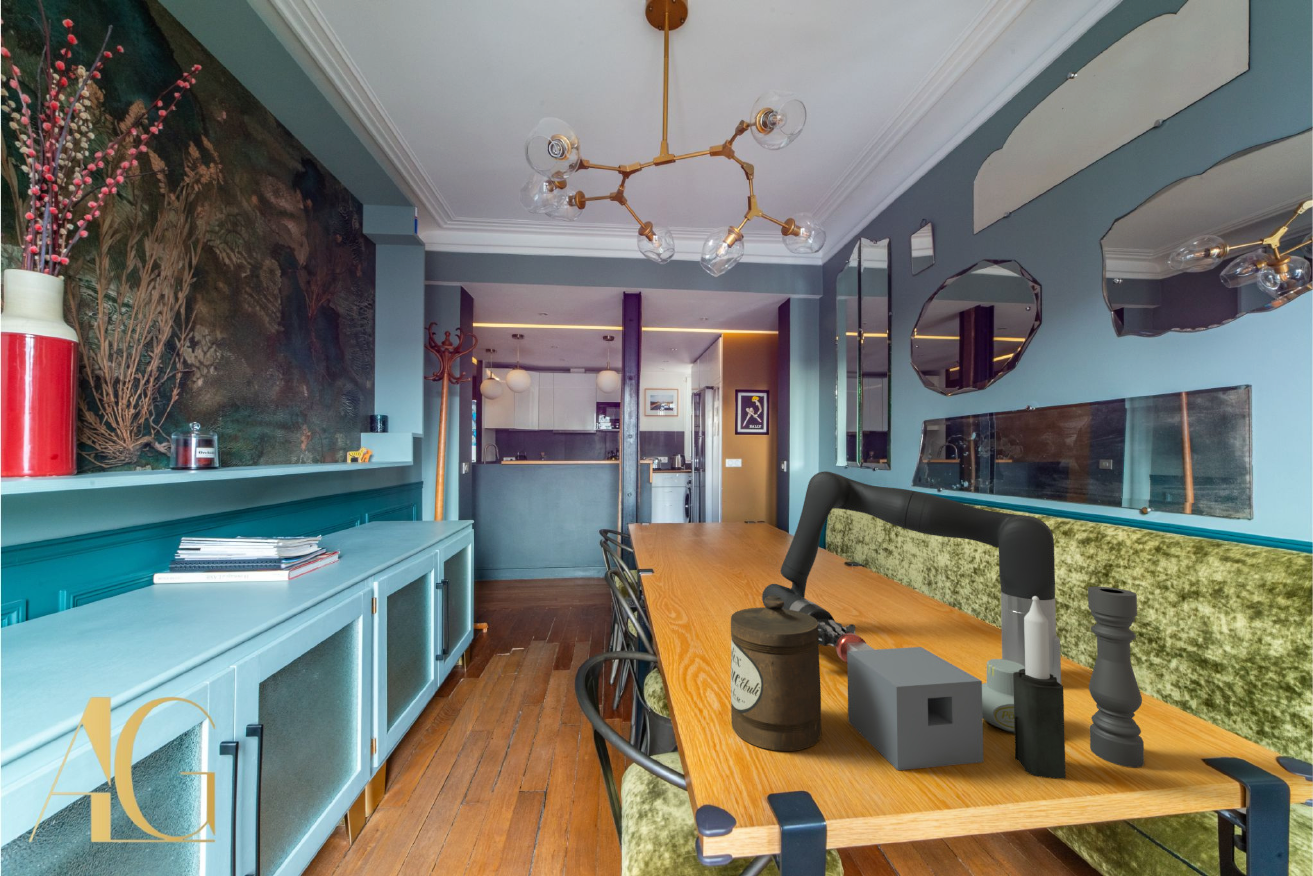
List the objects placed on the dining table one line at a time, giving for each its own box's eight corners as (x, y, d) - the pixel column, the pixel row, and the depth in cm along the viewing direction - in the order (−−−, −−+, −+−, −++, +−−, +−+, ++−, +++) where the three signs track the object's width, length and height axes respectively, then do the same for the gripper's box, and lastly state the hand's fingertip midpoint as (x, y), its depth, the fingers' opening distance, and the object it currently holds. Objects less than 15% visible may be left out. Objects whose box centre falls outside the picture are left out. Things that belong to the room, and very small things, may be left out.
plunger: (836, 662, 102) (835, 633, 102) (862, 660, 103) (862, 632, 103) (898, 711, 82) (897, 676, 82) (930, 709, 83) (929, 674, 83)
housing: (848, 721, 89) (847, 651, 90) (921, 715, 91) (920, 646, 92) (897, 770, 75) (896, 686, 76) (983, 762, 77) (981, 680, 78)
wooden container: (726, 705, 95) (726, 585, 96) (808, 707, 94) (806, 585, 95) (736, 751, 80) (736, 608, 81) (833, 753, 80) (831, 609, 80)
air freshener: (980, 731, 86) (978, 670, 86) (964, 708, 94) (963, 652, 94) (1056, 741, 83) (1055, 678, 84) (1034, 716, 91) (1032, 659, 92)
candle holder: (1099, 762, 78) (1095, 593, 78) (1083, 740, 83) (1079, 584, 84) (1152, 771, 75) (1147, 598, 76) (1132, 749, 81) (1127, 588, 82)
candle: (1069, 780, 73) (1064, 601, 74) (1028, 775, 74) (1024, 599, 75) (1049, 759, 78) (1045, 592, 79) (1012, 755, 79) (1008, 590, 80)
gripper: (783, 604, 119) (817, 629, 101) (837, 602, 121) (879, 626, 103) (783, 637, 118) (818, 668, 101) (837, 634, 120) (880, 664, 103)
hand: (849, 647), depth 102 cm, fingers closed
